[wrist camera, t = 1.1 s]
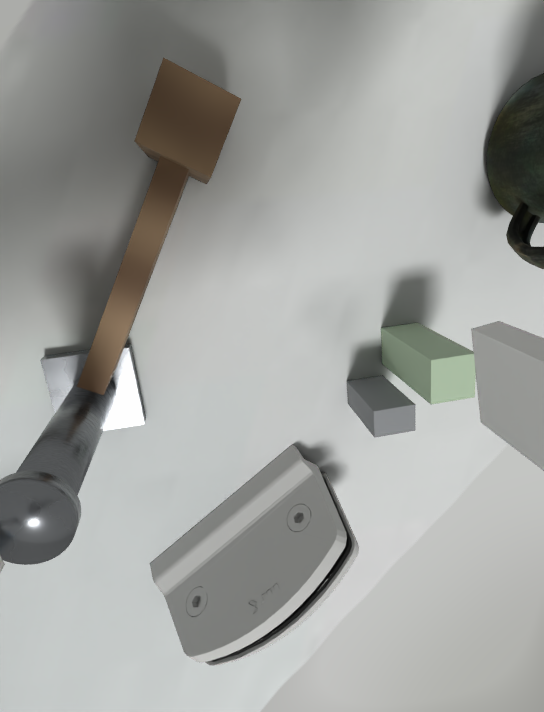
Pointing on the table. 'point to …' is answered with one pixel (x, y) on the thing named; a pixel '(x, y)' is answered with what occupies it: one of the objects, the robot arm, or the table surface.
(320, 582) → the grey arched slab
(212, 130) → the wooden mallet
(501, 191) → the dark green cylindrical container
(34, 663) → the table surface
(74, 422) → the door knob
